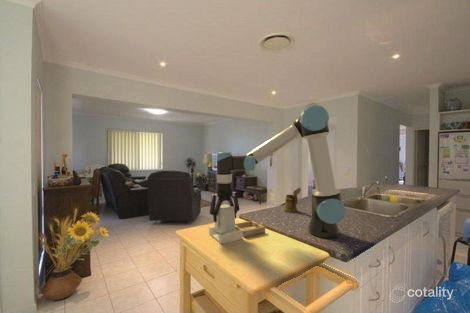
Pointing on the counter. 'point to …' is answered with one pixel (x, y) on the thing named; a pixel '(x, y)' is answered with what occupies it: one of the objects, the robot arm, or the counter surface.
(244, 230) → the wooden trough
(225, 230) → the supplement box
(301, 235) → the counter surface
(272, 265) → the counter surface
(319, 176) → the robot arm
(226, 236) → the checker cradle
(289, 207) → the wooden mug
